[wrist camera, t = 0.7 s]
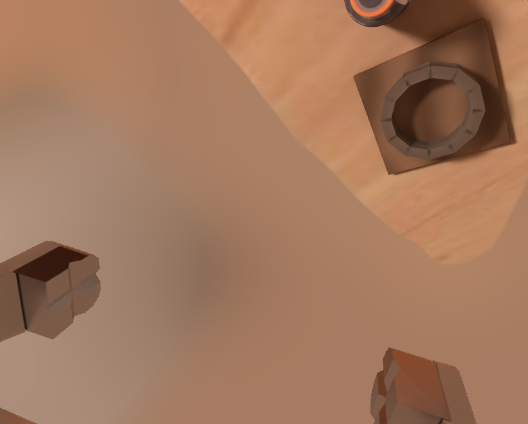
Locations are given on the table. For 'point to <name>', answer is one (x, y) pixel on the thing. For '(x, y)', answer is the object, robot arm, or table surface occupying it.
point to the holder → (435, 101)
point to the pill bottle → (375, 11)
